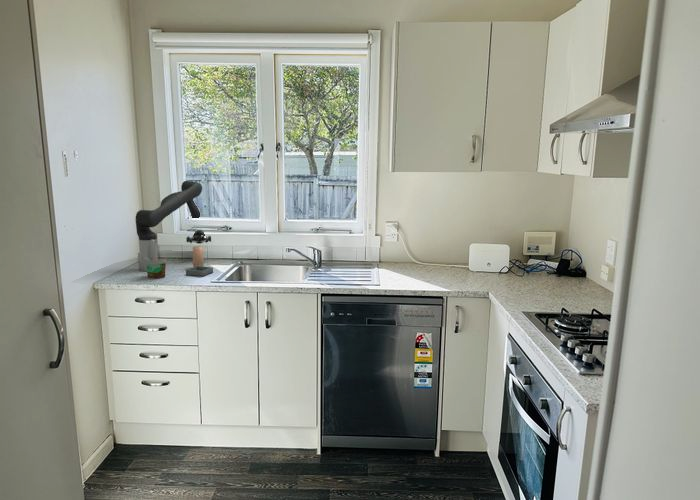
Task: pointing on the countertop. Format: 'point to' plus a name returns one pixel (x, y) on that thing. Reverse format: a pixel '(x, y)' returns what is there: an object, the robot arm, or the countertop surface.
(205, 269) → the holder
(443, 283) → the countertop surface
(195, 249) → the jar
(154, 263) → the food container
